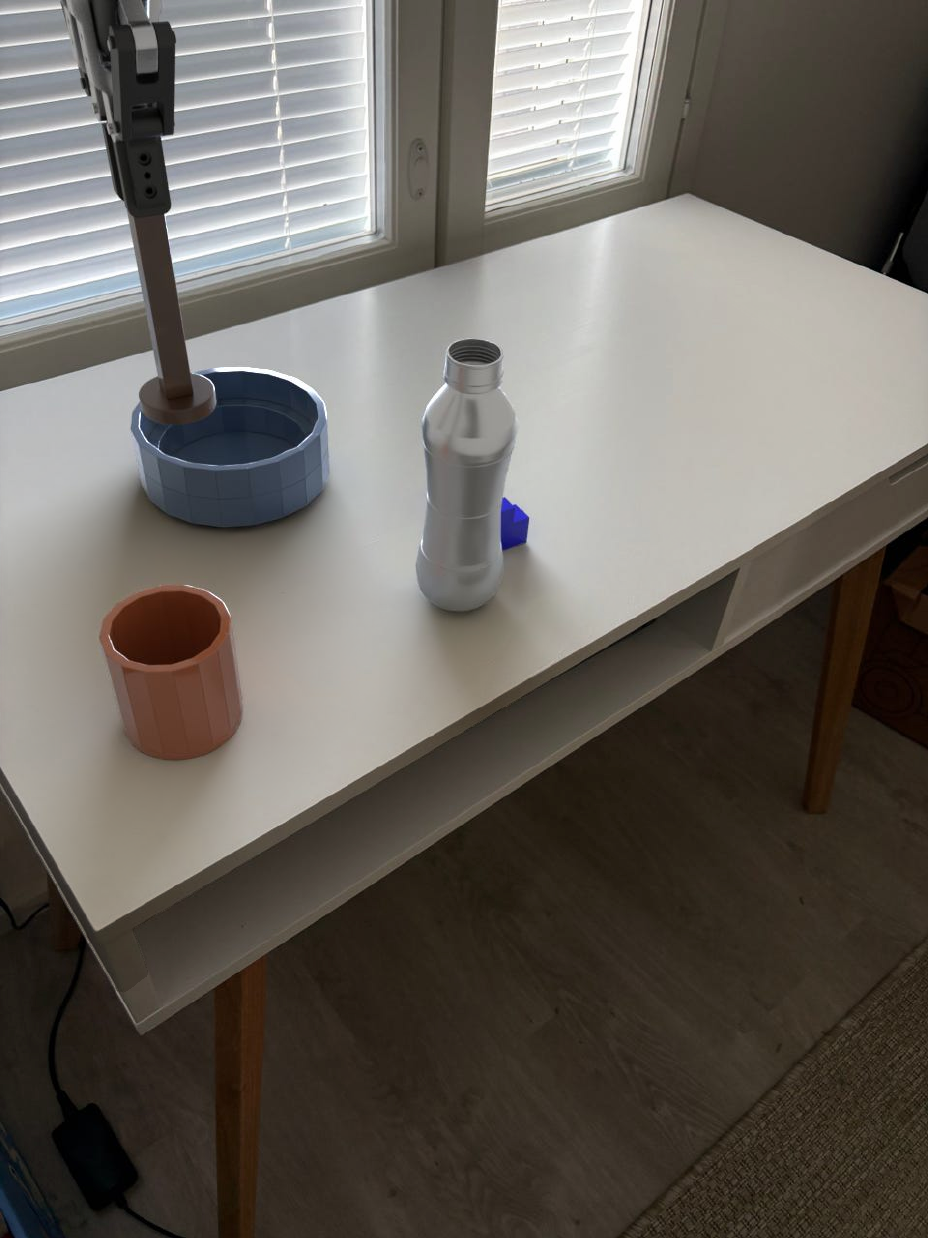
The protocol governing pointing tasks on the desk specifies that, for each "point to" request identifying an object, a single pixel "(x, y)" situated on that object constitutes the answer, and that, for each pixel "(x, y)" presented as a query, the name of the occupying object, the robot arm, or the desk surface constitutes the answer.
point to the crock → (173, 670)
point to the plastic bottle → (466, 478)
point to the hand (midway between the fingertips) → (144, 204)
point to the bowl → (237, 451)
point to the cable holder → (513, 525)
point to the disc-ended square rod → (166, 331)
